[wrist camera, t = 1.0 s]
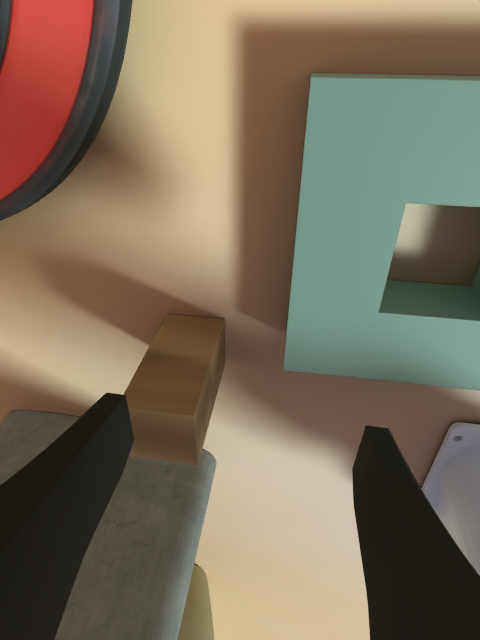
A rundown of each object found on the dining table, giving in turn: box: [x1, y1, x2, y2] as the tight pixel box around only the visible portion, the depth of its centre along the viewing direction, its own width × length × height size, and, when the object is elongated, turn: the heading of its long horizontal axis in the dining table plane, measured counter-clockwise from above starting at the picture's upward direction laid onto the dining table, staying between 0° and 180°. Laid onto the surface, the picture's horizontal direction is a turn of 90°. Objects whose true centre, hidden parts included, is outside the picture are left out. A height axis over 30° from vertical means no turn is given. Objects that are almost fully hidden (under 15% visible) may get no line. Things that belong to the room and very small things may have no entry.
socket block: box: [283, 73, 480, 390], centre depth 16 cm, size 12×12×3 cm
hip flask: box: [0, 410, 216, 640], centre depth 21 cm, size 16×4×20 cm, turn 82°
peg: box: [124, 313, 225, 465], centre depth 20 cm, size 3×3×7 cm
